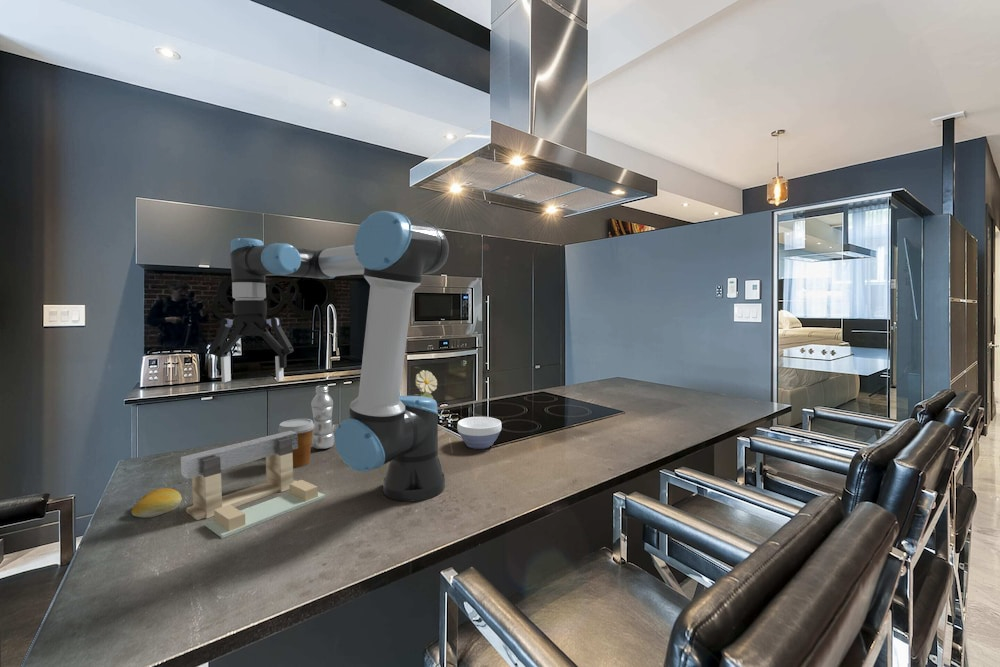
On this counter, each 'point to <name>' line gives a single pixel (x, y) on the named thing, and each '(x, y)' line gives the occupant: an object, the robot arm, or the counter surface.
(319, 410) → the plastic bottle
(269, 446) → the rail
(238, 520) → the rest pad
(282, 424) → the disposable coffee cup
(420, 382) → the flower in vase
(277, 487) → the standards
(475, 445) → the bowl
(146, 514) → the bread roll
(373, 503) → the counter surface
